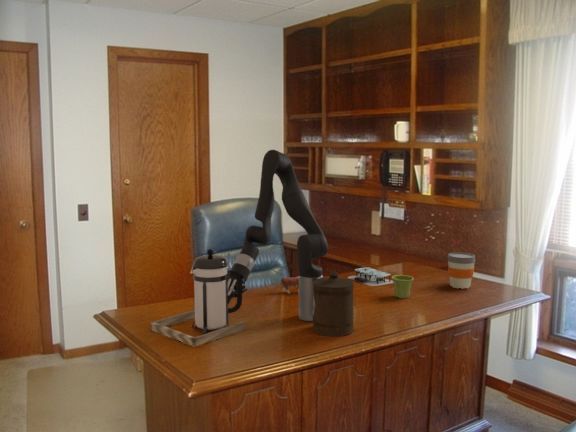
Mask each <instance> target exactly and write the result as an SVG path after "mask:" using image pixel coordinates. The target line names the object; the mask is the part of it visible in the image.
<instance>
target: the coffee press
mask: <svg viewBox="0 0 576 432" xmlns="http://www.w3.org/2000/svg"><path fill="white" fill-rule="evenodd" d="M206 253H207V254H203V255H200V256H198V257H196V258H195V259H194V261H193V263H192V267H191V269H190V272H189V273H190V275H191V274H193V275H192V278H193V285H194V287H193V291H194V310H195V318H194V322H193V323H192V325H191V326H192V328H193V329H196V327H197V328H199V329H202V333H201V335H203V334H206V333H209V331H210V330H211V331H214V330H218V329H221V328H224V327H227V326H230V323H229V314H232V313H234V312H235V313H236V312H237V311H238V310H239V309H240V308H241V306H242V303H243V293H242V279H241V276H240V274H239V273H238V272H236V271H232V270H231V269H230V270H228V266H229V262H228V261H227V259H226V258H225V257H223V256H222V255H219V254H214V250H213V249H211V248H210V249H208V250H207V251H206ZM229 275H233V276H235V277H236V280H237V293H236V294H237V297H236V303H235V305H234V306H233V307H229V306H228V305H229V304H228V286H227V278H228V277H229ZM226 325H227V326H226Z"/></svg>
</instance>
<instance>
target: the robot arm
mask: <svg viewBox="0 0 576 432" xmlns="http://www.w3.org/2000/svg"><path fill="white" fill-rule="evenodd" d="M275 175H276V176H277V177H278V178H279V180H280V183H281V185H282V192H281V202H282V204H283V205H282V206H284V210H285V211H286V213H287V215H288V216H289V217H290V218H291V219H292V220H293V221H295V222H296V223H297V224H298V225H300V227H302V228H303V229H304V230H305V232H306V234H302V235H300V236H299V237H298V238H297V243H296V254H297V256H296V257H297V258H296V259H297V269H298V277H299V293H298V319H299V320H301V321H305V322H313V294H314V281H315V280H317V279H320V278H324V275H323V273H324V271H323V270H324V269H323V268H322V267H321V266H320V265H315V264H313V262H312V259H315V258H316V259H317V258H322V257H325V256H326V255H327V254H328V251H329V245H328V240H327V238H326V236H325V235H324V234H325V233H324V232H323V231H322V228H321V227H320V226H319V224H318V222H317V220H316V218H315V216H314V214H313V213H312V212H313V211H312V210H311V208H310V206H309V204H308V203H309V202H308V201H307V198H306V196H305V193H304V192H303V190H302V188H301V185H300V183H299V181H298V179H297V176H296V172H295V169H294V166H293V163H292V161H291V158H290V157H289V156H288V155H287V154H285V153H283V152H281V151H278V150H275V149H270V150H267V152H266V153H265V154H264V156H263V160H262V164H261V176H260V186H259V187H260V188H259V195H258V200H257V205H256V208H255V213H254V219H255V220H256V221H259V222H260V223H261V225H262V226H257V225H254V224H253V225H250V226H249V227H248V228H247V229H246V231H245V236H244V237H245V238H244V241H243V245H242V248H241V250H240V252H239V254H238V256H237V257H236V259H235V261H234V263H233V265H232V266H231V269H230V270H232V271H236V272H238V273H239V274H240V276H241V279H242V294H243V293H245V292H246V291H248V288H247V286H246V285H245V284H246V282H247V280H248V278H249V276H250V274H251V272H252V270H253V268H254V264H255V262H256V260H257V258H258V257H259V253H260V249H259V248H258V246H256V245H255V244H258V245H263V246H266V245H268V244H269V243H270V241H271V239H272V216H273V212H274V209H275V208H274V207H275V202H276V201H275V191H274V184H273V182H274V176H275ZM227 286H228V305H229V304H230V303H231V300H232V299H233V298H235V299H237V280H236V277H235V276H233V275H228V278H227Z"/></svg>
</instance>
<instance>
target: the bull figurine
mask: <svg viewBox="0 0 576 432" xmlns="http://www.w3.org/2000/svg"><path fill="white" fill-rule="evenodd" d="M280 282H281V285H282V286H281V287H282V289H283V290H282V291H283V292H284V293H286V292H287V294H289V295H290V294H291V291H290V290H289V287H290V288H291V289H293V288H296V287H297V293H298V294H299V276H296V277H295V276H294V277H291V276H290V277H286V276H285V277H282V278H281V279H280Z"/></svg>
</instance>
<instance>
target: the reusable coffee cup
mask: <svg viewBox="0 0 576 432" xmlns="http://www.w3.org/2000/svg"><path fill="white" fill-rule="evenodd" d="M447 263H448V265H447V271H448V276H449V285H450V287H451V286H452V288H454V289H459V288H461V289H463V290H464V289H465V288H466V289H469V287H470V288H471V283H472V279H473V277H474V273H475V263H476V255H475V254H472V253H469V252H468V253H467V252H450V253H448V254H447ZM466 289H465V290H466Z"/></svg>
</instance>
